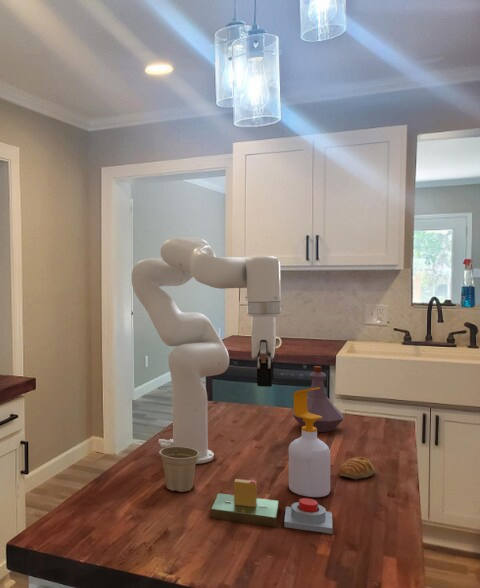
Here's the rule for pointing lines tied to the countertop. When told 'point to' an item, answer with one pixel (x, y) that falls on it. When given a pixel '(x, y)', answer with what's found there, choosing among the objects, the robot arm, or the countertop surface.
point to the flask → (321, 405)
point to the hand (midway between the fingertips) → (265, 382)
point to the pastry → (357, 468)
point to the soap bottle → (308, 454)
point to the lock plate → (245, 511)
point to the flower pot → (179, 467)
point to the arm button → (308, 505)
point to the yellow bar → (245, 492)
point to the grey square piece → (308, 519)
